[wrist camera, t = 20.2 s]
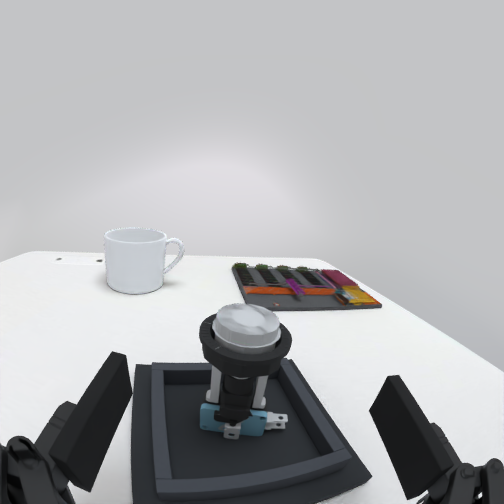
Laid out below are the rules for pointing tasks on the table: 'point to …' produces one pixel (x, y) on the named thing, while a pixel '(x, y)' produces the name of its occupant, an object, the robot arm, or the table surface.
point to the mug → (137, 259)
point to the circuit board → (300, 289)
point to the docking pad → (234, 444)
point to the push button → (241, 368)
